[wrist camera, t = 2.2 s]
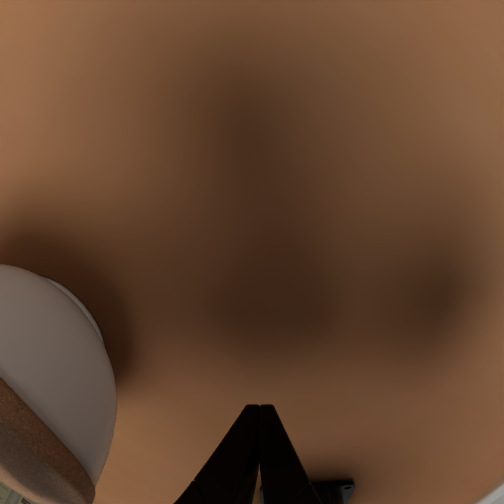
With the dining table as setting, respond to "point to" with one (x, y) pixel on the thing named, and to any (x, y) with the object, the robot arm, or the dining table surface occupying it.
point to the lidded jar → (52, 391)
